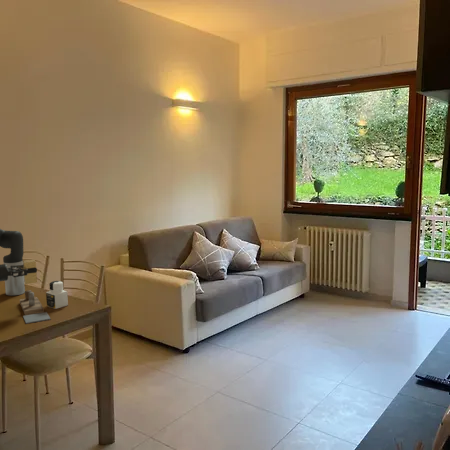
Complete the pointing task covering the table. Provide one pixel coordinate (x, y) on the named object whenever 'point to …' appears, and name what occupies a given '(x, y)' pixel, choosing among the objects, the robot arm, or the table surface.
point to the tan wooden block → (31, 276)
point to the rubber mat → (36, 317)
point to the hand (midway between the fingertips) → (35, 268)
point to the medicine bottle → (56, 295)
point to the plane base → (30, 308)
